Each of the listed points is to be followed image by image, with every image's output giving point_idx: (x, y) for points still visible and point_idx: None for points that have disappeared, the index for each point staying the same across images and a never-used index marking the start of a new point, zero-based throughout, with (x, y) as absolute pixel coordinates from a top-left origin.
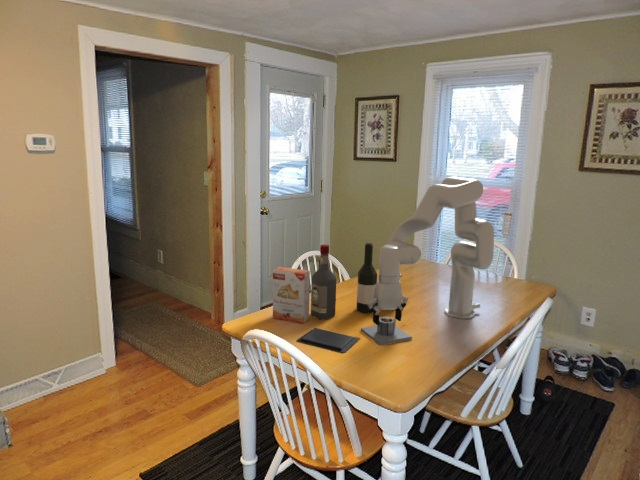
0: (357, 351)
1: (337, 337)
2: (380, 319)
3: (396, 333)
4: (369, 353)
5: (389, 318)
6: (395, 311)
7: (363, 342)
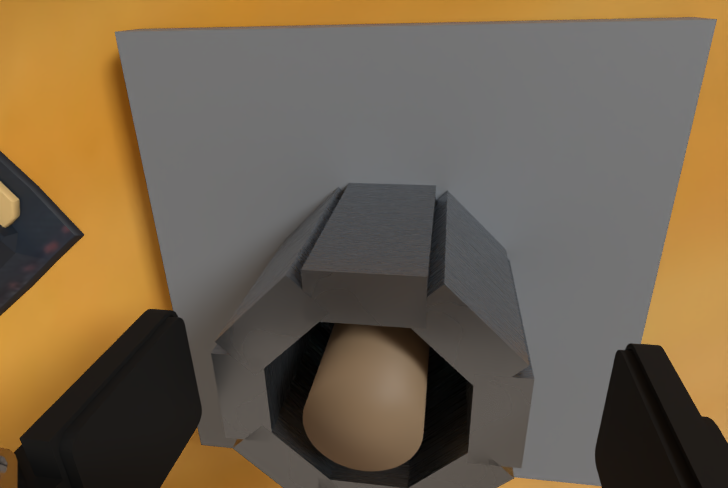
0: (3, 424)
1: None
2: (267, 357)
3: None
4: None
5: (417, 442)
6: (667, 468)
7: (91, 317)
